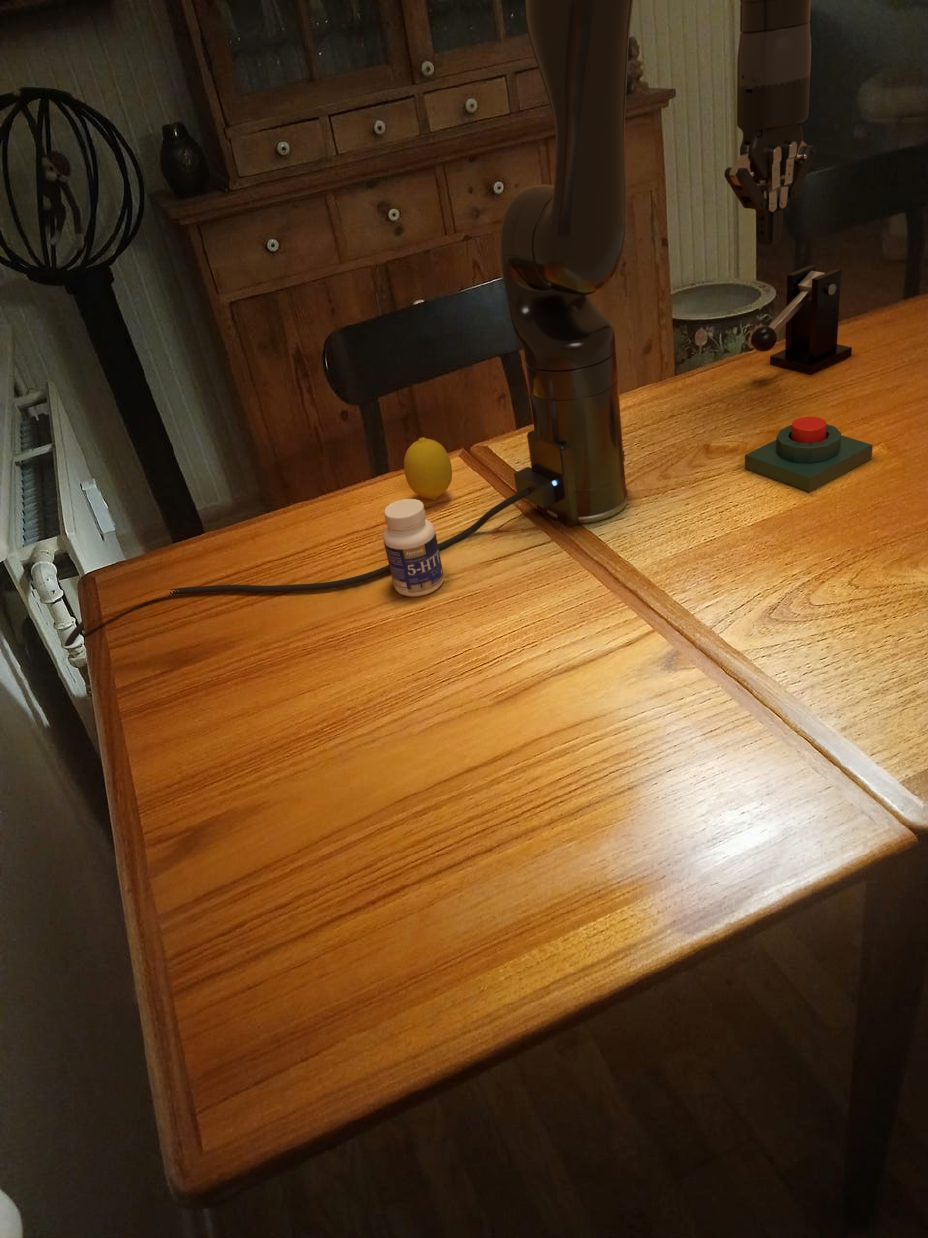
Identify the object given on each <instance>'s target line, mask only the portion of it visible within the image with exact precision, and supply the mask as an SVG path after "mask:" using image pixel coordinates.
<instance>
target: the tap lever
mask: <svg viewBox="0 0 928 1238" xmlns="http://www.w3.org/2000/svg"><path fill="white" fill-rule="evenodd" d="M825 273H826V272H824V271H823V272H822V271H817V270H816V271H811V272H810V273H809V274H808V275H807V276H806V277H805V278H804V279H803V280H802V281H801V282H800V283H799V284H798V288H799V291H800V293H799V294H798V295H797V296H796V297H795V298H794V299H793V301H792V302H791V303H790V304H789V305H788V306H787V307H786V306H785V308H784V309H783V310H782V311H781V312H780V313H779V314H778V315H777V316H776V317H775V319H773V321H772V322H770V324H769V325H761V326H759V327H757V328H756V329H754V331H753V332H752V334H751V336H750V343H751V346H752V348H753V349H754V350H755V351H758V352H762V353H764V352H765V353H766V352H768V351H771V350H772V349H773V348H774V347H775V345H776V343H777V340H778V335H777V334H778V333H779V332H780V331H781V330H782V328H784V326H786V323H787V322H788V321H789V320H790V319H791V318H792V317H793V316H794V314H795V313H796V312H797V311H798V310H799V309H800V308H801V307H802V306H803V305H804V304H805V303H806V302H807V301H811V294H812V279H813V278H815V277H818V276H820V275H823V274H825Z"/></svg>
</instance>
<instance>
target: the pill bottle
mask: <svg viewBox="0 0 928 1238" xmlns="http://www.w3.org/2000/svg"><path fill="white" fill-rule="evenodd" d="M383 515H384V519H385V524H386V526H387V527H386V528H385V529H384V531H383V535H382V539H383V545H384V550H385V553H386V558H387V563H388V565H389V567H390V571H391V572H390V576H391V579H392V584H393V588H394V589H395V591H396V592H397V593H398V594H400V595H402V596H405V597H421V596H425V595H428V594H431V593H433V592H434V591H436V590H438V589H439V588H440V587H441V586H442V584H443V583H444V581H445V575H444V569H443V565H442V559H441V553H440V551H439V548H438V544H439V542H438V538H437V533H436V528H435V526H434V524H433V523H432V522H431V521H430V520H429V519H427V515H426V510H425V506H424V502H423V501H422V500H419V499H417V498H416V499H415V498H403V499H399V500H396V501H394V502H391V503H389V504H388V505H387V506H386V507H385V508H384V510H383Z"/></svg>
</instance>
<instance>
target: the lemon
mask: <svg viewBox="0 0 928 1238" xmlns="http://www.w3.org/2000/svg"><path fill="white" fill-rule="evenodd" d="M403 470H404V476H405V479H406V483H407V484H408V486H409V489H411V491H412V492H414V494H416V495H417V496H419V497H420V498H425V499H429V500H430V501H436V500H438V498H439V497H440V496H441V495H443V494H444V493H445V492H446V491H447V490H448V489H449V487H450V485H451V482H452V480H453V467H452V462H451V459H450V456H449V454H448V452H447V450H446V449H445V447H444V446H443V445H442V444H441V443H439V442H438V441H436V440H435V439H430V438H426V437H420V438H418V440H416V441H414V442H412V444H411V445H410V446H409V447H408V449H407V450H406V452H405V455H404V461H403Z"/></svg>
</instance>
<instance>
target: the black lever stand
mask: <svg viewBox="0 0 928 1238" xmlns="http://www.w3.org/2000/svg"><path fill="white" fill-rule="evenodd" d="M811 271H816V272H817V266H816V265H808V266H805V267H803V268H800V269H797V270H795V271H793V272H791V273H788V274H787V275H786V305H785V308H786V307H787V306H788V305H789V304H790V303H791V302H792V301H793V299H794V298H795V297H796V296H797V295H798V294H799V293H800V291H799V288H798V284H799V283H800V282H801V281H802V280H803V279H804V278H805V277H806V276H807V275H808V274H809V273H810V272H811ZM824 273H825V274H823V275H820V276H818V277H815V278H813V279H812V294H811V301H807V302H806V303H805V304H804V305H803V306H802V307H801V308H800V309H799V310H798V311H797V312H796V313H795V314H794V316H793V317H792V318H791V319H790V320H789V321H788V322H787V323H786V324H785V342H784V349H783V350H781V351H777V352H776V353H774V354H772V355H770V356H769V365H771V366H775V367H779V368H781V369H782V368H783V369H787V370H791V371H794V372H798V373H802V374H806V375H814V374H816V373H818V372H820V371H823V370H824V369H827V368H829V367H832V366H833V365H835V364H837V363H839V362H841V361H844V360H846V359H849V358H850V357H852V353H853V352H852V351H853V347H852V346H848V345H842V344H839V343H838V332H839V316H840V315H839V314H840V302H841V301H840V299H841V281H842V270H841V269H838V268H837V269H833V270H830V271H828V272H824Z"/></svg>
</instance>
